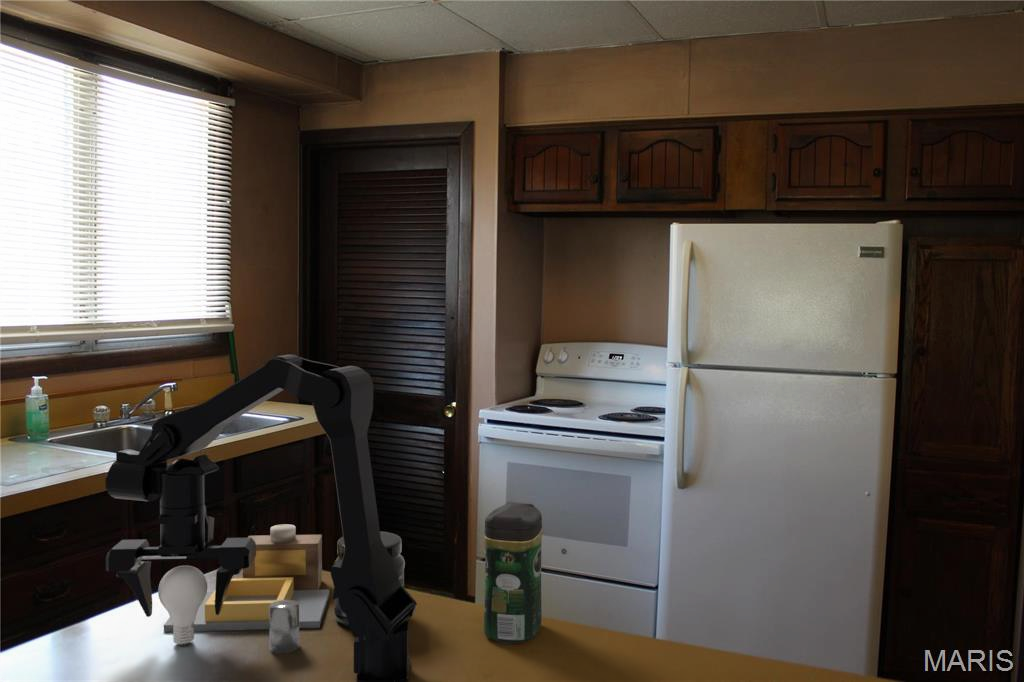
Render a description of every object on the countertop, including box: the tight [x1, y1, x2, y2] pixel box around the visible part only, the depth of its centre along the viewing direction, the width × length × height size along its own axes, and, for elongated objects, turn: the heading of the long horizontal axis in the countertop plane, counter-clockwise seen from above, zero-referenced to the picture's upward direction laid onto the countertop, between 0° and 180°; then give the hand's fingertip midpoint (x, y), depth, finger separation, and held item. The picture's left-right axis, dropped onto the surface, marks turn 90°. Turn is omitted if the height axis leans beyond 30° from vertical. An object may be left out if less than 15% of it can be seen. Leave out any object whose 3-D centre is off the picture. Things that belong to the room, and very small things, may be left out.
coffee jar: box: [483, 501, 543, 645], centre depth 124 cm, size 10×8×19 cm
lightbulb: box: [157, 565, 208, 646], centre depth 119 cm, size 6×6×11 cm
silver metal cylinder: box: [268, 600, 300, 655], centre depth 118 cm, size 4×4×6 cm
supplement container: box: [333, 531, 406, 628], centre depth 129 cm, size 10×10×12 cm
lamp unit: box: [242, 523, 323, 590], centre depth 141 cm, size 12×5×10 cm, turn 96°
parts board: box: [163, 577, 330, 633], centre depth 130 cm, size 22×13×4 cm, turn 96°
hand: (183, 614), depth 119 cm, fingers open, 9 cm apart
